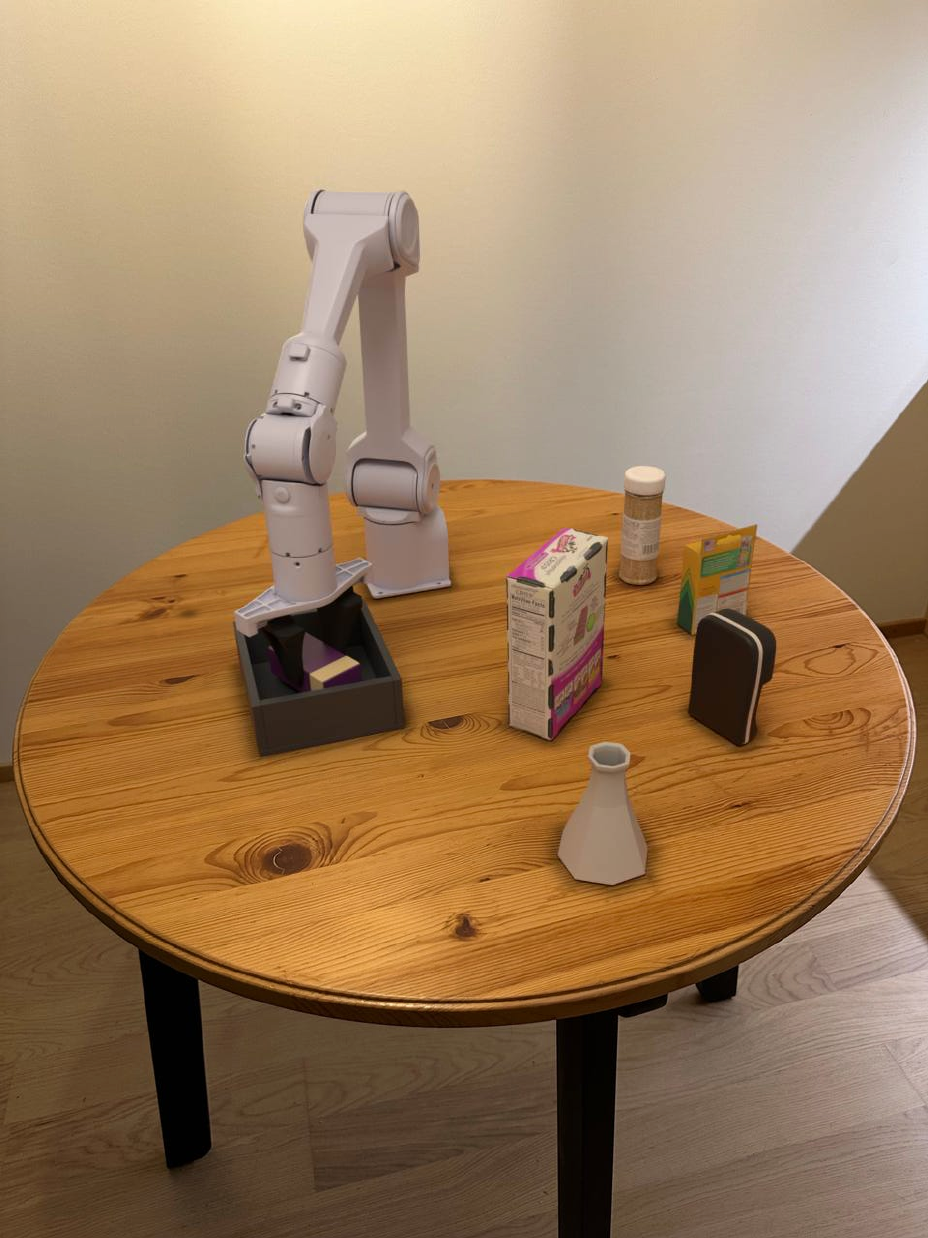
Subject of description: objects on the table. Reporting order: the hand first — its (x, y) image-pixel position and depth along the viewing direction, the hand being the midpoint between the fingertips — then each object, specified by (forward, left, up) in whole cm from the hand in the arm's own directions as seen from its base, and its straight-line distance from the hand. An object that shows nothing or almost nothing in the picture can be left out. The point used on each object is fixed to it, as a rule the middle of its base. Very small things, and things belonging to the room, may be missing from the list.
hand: (315, 669), depth 97 cm
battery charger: (-36, +17, -3) cm, 40 cm away
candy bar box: (-22, +9, -3) cm, 24 cm away
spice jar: (-41, -12, -3) cm, 42 cm away
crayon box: (-44, 0, -3) cm, 44 cm away
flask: (-18, +29, -3) cm, 34 cm away
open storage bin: (0, 0, -3) cm, 3 cm away
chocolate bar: (0, 0, -1) cm, 1 cm away
